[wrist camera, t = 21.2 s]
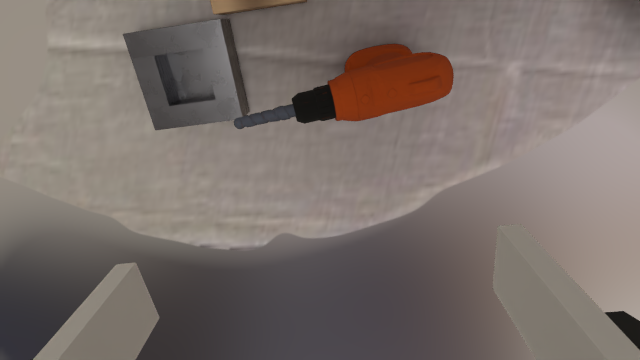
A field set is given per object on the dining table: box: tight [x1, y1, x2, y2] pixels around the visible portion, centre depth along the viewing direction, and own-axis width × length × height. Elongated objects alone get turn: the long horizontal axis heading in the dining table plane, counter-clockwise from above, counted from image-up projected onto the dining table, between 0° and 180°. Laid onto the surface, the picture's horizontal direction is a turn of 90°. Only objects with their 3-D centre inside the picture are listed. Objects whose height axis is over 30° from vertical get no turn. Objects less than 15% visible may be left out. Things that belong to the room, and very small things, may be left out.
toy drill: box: [234, 44, 453, 129], centre depth 33 cm, size 5×19×15 cm, turn 102°
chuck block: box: [123, 19, 249, 130], centre depth 38 cm, size 10×10×4 cm
